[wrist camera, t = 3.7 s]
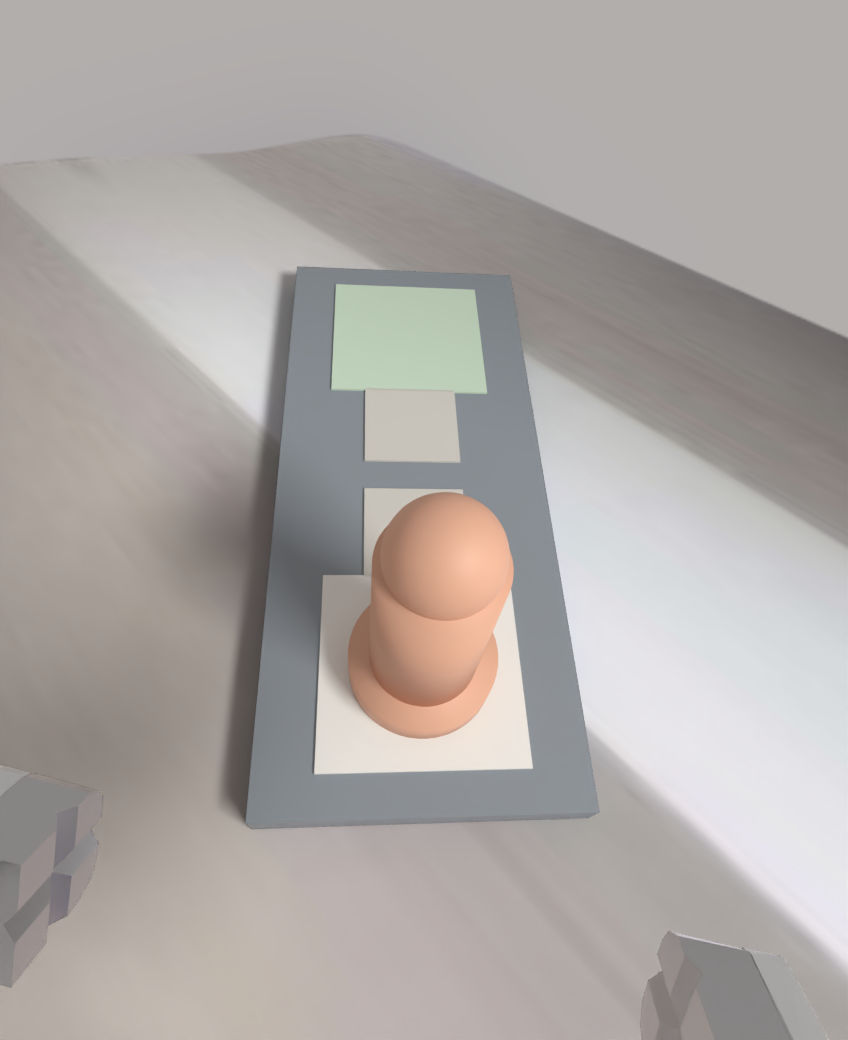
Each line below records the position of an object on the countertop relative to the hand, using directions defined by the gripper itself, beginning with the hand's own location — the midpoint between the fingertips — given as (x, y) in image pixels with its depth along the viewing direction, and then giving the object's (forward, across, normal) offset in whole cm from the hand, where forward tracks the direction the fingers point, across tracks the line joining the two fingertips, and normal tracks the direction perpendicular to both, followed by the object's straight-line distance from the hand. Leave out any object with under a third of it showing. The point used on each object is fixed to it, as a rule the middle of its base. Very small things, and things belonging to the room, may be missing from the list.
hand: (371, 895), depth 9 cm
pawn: (+13, 0, +3) cm, 14 cm away
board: (+20, +2, -2) cm, 20 cm away
